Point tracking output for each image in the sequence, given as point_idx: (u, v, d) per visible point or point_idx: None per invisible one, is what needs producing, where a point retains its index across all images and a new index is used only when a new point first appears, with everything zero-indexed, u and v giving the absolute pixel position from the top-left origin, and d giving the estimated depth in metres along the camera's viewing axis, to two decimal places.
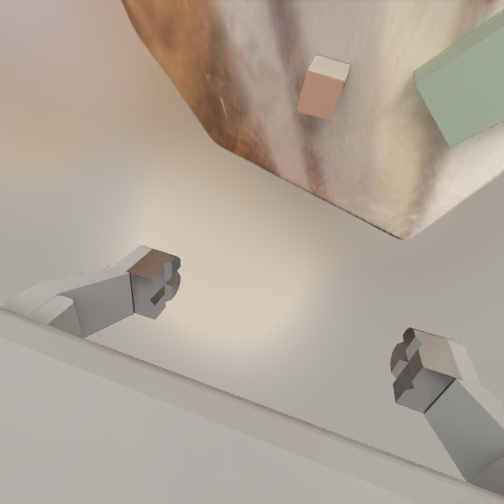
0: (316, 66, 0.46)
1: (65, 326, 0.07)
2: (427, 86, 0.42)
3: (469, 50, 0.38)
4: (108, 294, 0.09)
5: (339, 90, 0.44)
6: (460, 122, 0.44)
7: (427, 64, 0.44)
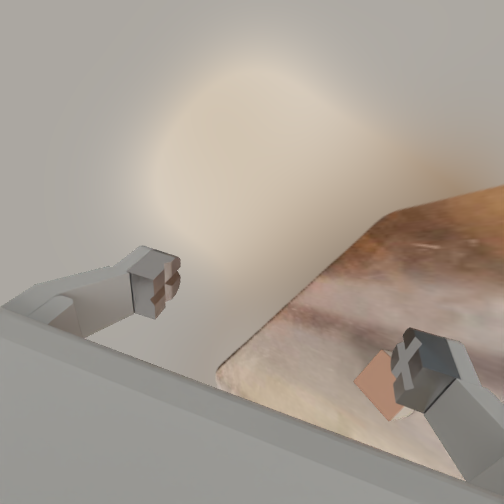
0: None
1: (65, 326, 0.07)
2: None
3: None
4: (108, 294, 0.09)
5: (382, 411, 0.37)
6: None
7: None
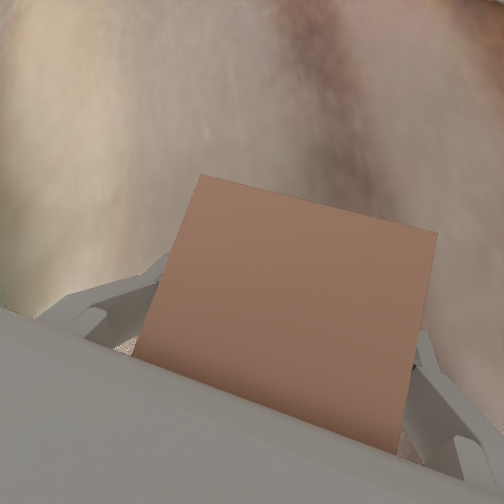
0: None
1: (99, 339, 0.07)
2: None
3: None
4: (137, 304, 0.09)
5: None
6: None
7: None
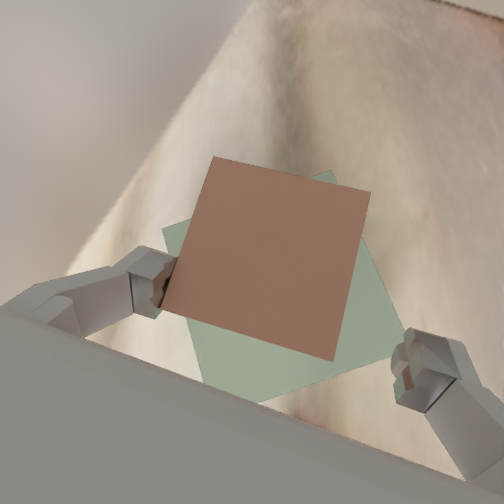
0: None
1: (65, 326, 0.07)
2: (383, 334, 0.17)
3: (299, 384, 0.16)
4: (108, 294, 0.09)
5: (178, 278, 0.10)
6: None
7: None
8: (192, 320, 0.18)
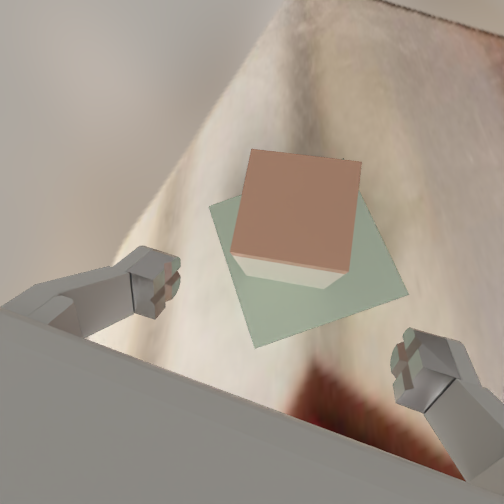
0: (319, 277, 0.17)
1: (65, 326, 0.07)
2: (386, 284, 0.22)
3: (321, 322, 0.21)
4: (108, 294, 0.09)
5: (239, 231, 0.15)
6: None
7: None
8: (235, 276, 0.23)
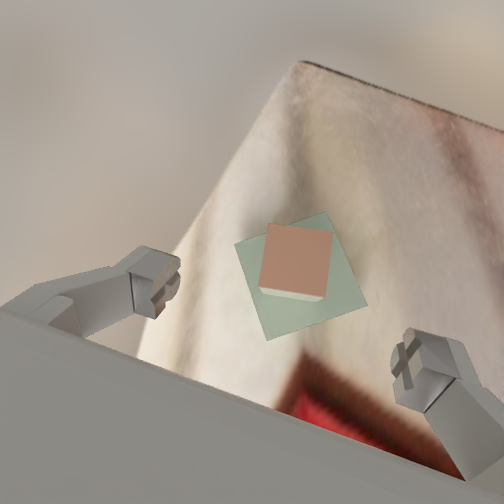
0: (310, 297, 0.28)
1: (65, 326, 0.07)
2: (353, 298, 0.33)
3: (310, 324, 0.32)
4: (108, 294, 0.09)
5: (263, 274, 0.26)
6: None
7: None
8: (253, 292, 0.34)
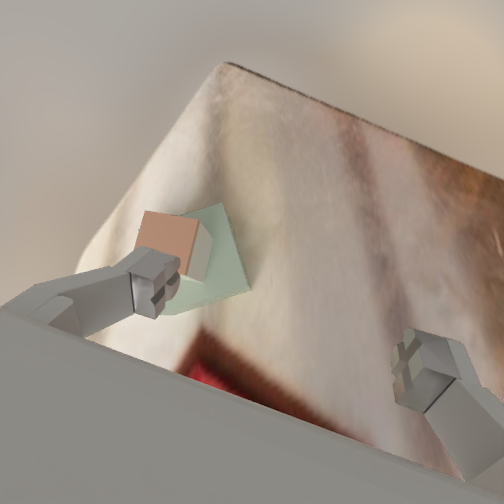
0: (184, 277, 0.33)
1: (65, 326, 0.07)
2: (235, 279, 0.37)
3: (196, 300, 0.37)
4: (108, 294, 0.09)
5: None
6: (209, 228, 0.39)
7: (237, 293, 0.41)
8: None
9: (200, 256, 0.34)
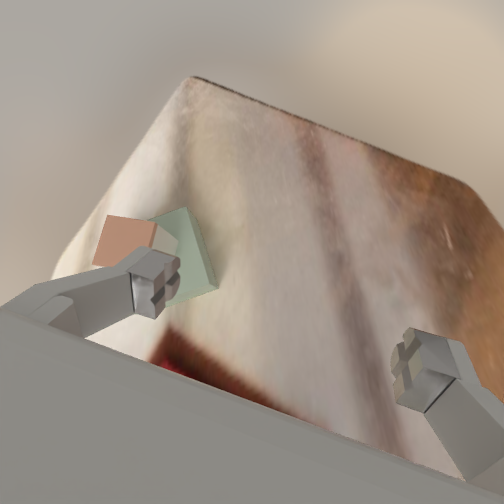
0: None
1: (65, 326, 0.07)
2: (198, 278, 0.39)
3: None
4: (108, 294, 0.09)
5: (97, 254, 0.33)
6: (174, 231, 0.41)
7: (204, 292, 0.44)
8: None
9: None
